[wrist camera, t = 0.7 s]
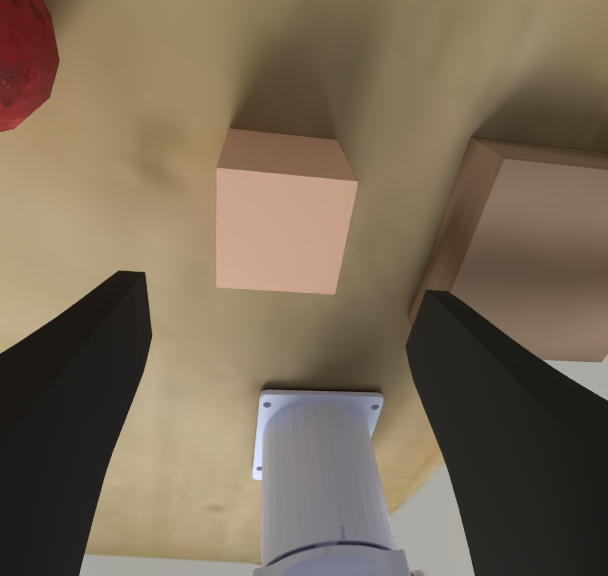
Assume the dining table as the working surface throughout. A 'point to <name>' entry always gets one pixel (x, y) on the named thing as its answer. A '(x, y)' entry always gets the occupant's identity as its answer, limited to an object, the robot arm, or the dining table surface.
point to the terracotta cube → (282, 212)
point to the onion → (25, 59)
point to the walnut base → (529, 246)
